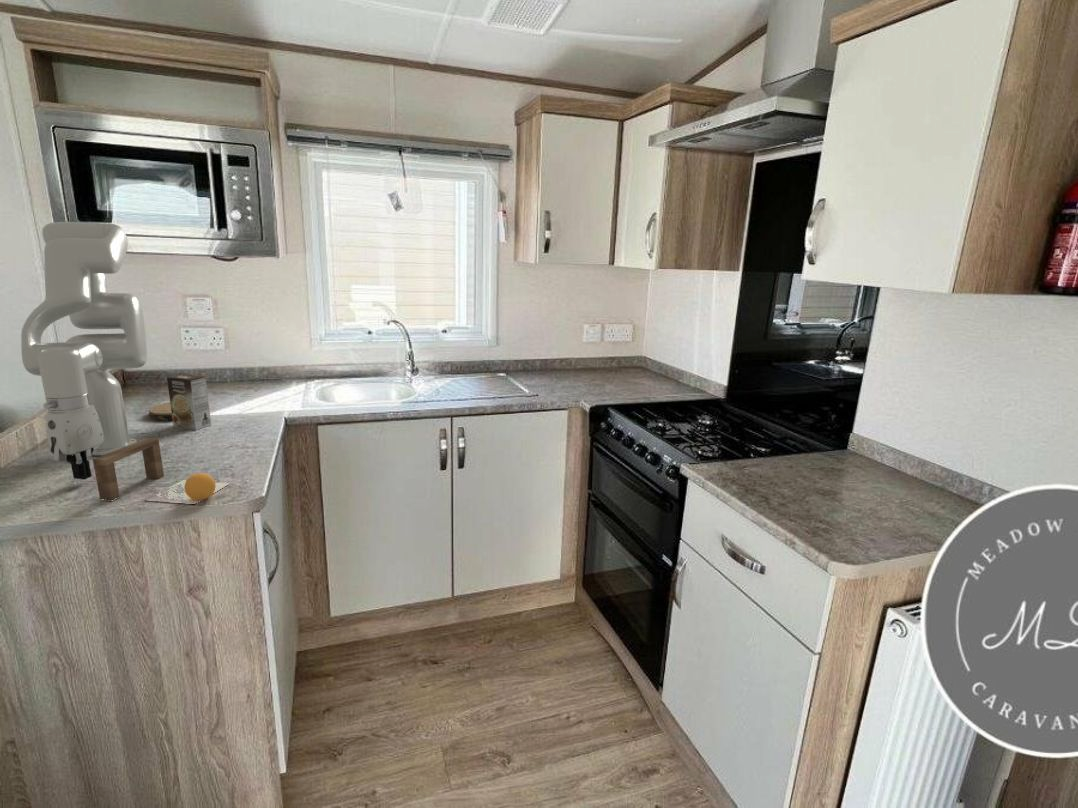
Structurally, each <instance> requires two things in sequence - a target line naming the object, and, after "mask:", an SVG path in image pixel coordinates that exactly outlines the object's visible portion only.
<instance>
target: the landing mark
mask: <svg viewBox="0 0 1078 808" xmlns="http://www.w3.org/2000/svg"><path fill="white" fill-rule="evenodd" d="M186 481H187V479H182V480H180V481H179V482H176V483H175V484H173V485H171V486H169V487H168V488H171V487H174V486H177V485H180V484H181V485H182V486H181V487H183V488H184V486H185V482H186ZM215 484H216V487H215V491H214V492H213V493H214V494H216V493H217V491H218V492H219V491H221V490H223V489H225V488H226V487H228V486H229V485H230V484H231V483H228V482H216V481H215ZM227 485H228V486H227ZM225 486H226V487H225ZM177 487H178V486H177ZM222 488H223V489H222ZM174 489H177V488H175V487H174ZM174 489H172V488H171V489H170V490H168V491H169V492H168V491H167V492H168V496H169V497H167V496H166V495H165V496H166V497H167V498H168V499H172V498H174V499H178V498H175V497H178V496H180V497H184V498H183V500H189V503H197V504H199V503H201V502H202V501H201V500H195V499H192V498H190V497H189V496H188V495H187V494H186V492H184V491H185V490H184V491H183V492H184V494H183V493H181V495H179V494H177V493H175V492H177V491H176V490H174ZM184 489H185V488H184ZM220 489H221V490H220ZM171 490H173V491H175V492H173V491H171ZM160 492H161V491H160ZM160 492H158V493H159V494H157V493H155V494H156V495H157V496H159V497H162V496H160V495H161V493H160ZM215 492H216V493H215ZM169 494H170V495H169ZM182 495H183V496H182ZM173 496H174V497H173ZM180 500H181V499H180ZM198 501H199V503H198ZM200 501H201V502H200ZM185 502H188V501H185Z"/></svg>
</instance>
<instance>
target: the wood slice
mask: <svg viewBox="0 0 1078 808" xmlns="http://www.w3.org/2000/svg"><path fill="white" fill-rule="evenodd" d="M148 416H149V419H150V420H152V421H157V422H173V419H172V412H171V405H170V401H169V402H165V403H160V404H156V405H153V406H151V407H150V408H149V409H148Z"/></svg>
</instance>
